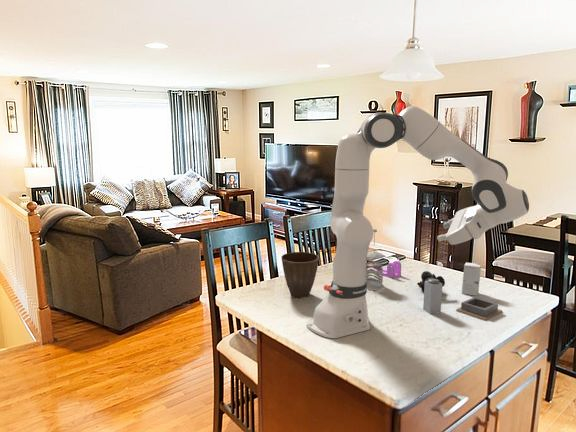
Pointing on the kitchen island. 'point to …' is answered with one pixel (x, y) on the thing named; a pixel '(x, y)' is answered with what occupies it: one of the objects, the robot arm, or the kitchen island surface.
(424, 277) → the night vision scope
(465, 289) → the skincare box
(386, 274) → the bracket
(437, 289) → the cap block
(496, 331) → the kitchen island surface
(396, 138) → the robot arm
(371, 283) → the french press
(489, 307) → the collar
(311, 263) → the plant pot
